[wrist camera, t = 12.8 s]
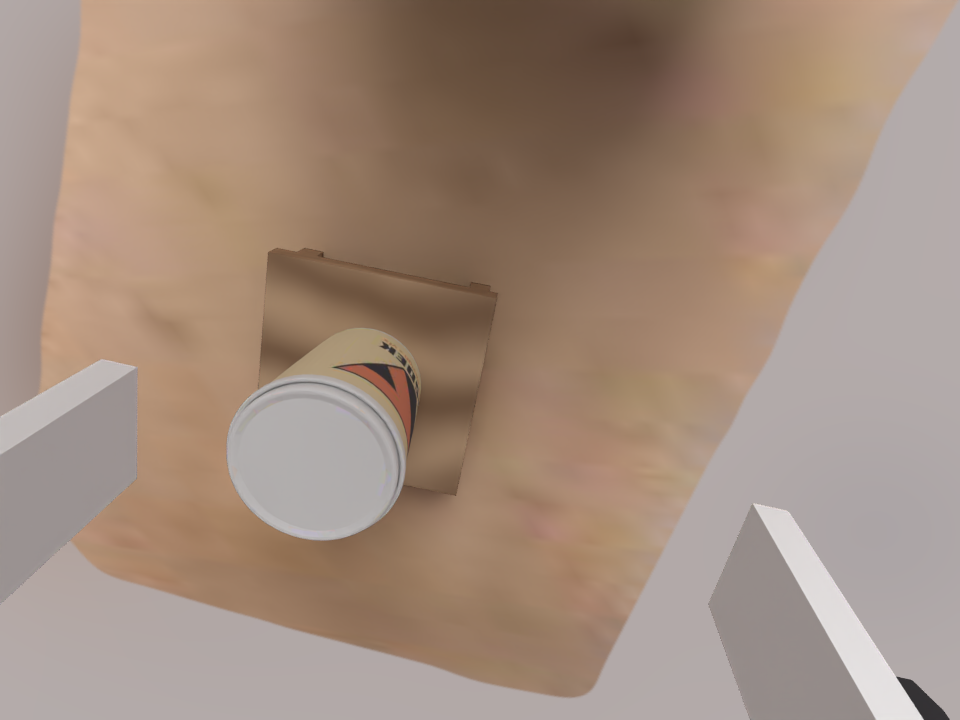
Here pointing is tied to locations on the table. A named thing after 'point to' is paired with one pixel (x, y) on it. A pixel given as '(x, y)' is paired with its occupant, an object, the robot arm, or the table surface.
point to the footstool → (405, 316)
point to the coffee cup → (328, 437)
